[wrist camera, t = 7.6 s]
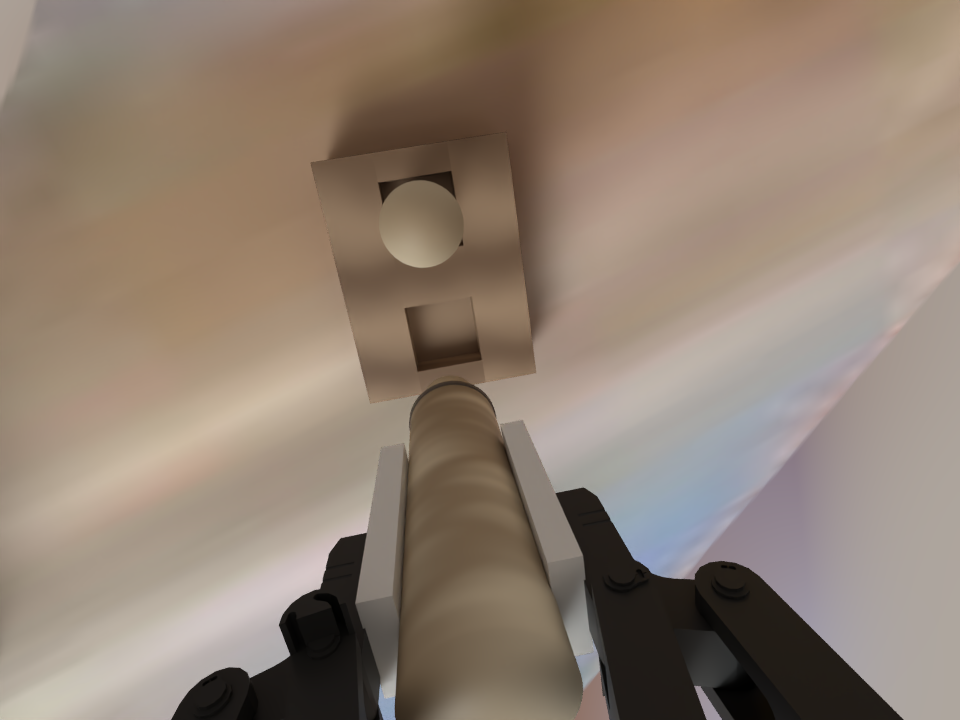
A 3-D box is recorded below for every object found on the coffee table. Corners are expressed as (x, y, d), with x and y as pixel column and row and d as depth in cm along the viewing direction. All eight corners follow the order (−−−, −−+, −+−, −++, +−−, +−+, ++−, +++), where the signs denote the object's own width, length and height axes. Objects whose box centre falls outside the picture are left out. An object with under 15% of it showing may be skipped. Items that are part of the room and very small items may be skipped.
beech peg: (482, 356, 22) (575, 607, 8) (494, 427, 23) (592, 747, 9) (403, 371, 21) (371, 653, 8) (419, 442, 23) (413, 790, 9)
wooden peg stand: (524, 354, 40) (589, 455, 24) (376, 381, 39) (345, 503, 23) (495, 139, 34) (556, 92, 19) (324, 166, 34) (240, 140, 18)
